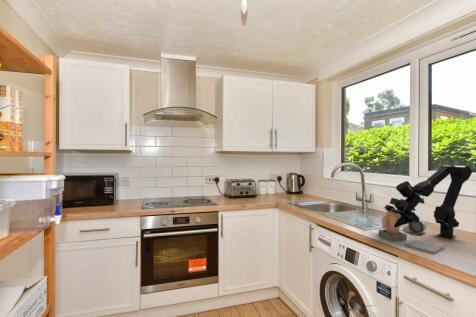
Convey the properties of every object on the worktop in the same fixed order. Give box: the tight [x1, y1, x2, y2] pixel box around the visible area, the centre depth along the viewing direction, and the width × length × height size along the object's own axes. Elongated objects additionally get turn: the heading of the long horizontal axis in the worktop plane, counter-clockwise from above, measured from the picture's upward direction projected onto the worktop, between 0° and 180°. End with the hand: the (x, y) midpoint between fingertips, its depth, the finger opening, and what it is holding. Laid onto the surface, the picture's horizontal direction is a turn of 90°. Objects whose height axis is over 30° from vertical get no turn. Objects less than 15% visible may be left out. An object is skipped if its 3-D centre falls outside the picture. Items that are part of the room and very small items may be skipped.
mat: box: [403, 239, 445, 255], centre depth 123 cm, size 12×12×1 cm
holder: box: [378, 229, 408, 242], centre depth 136 cm, size 9×9×3 cm
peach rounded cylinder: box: [381, 210, 400, 235], centre depth 136 cm, size 8×7×13 cm
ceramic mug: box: [402, 218, 427, 235], centre depth 149 cm, size 11×8×8 cm
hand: (390, 225), depth 136 cm, fingers closed on peach rounded cylinder, 6 cm apart
